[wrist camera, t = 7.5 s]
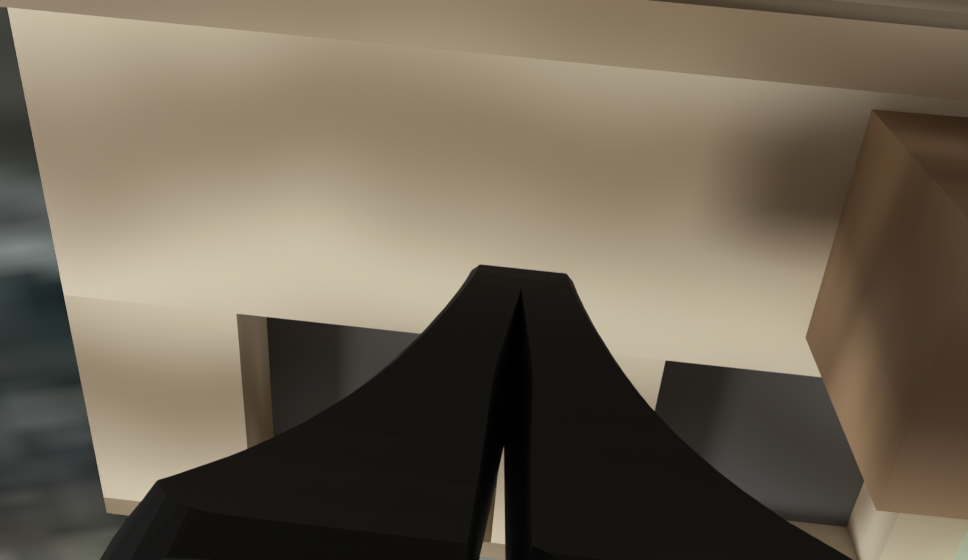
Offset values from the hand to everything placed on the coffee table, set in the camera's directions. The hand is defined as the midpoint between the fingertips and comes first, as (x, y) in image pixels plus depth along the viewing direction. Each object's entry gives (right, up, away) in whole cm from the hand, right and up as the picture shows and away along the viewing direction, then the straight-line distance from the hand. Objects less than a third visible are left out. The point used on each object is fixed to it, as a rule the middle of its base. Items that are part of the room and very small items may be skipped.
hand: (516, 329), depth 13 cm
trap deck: (+1, +1, +6) cm, 6 cm away
